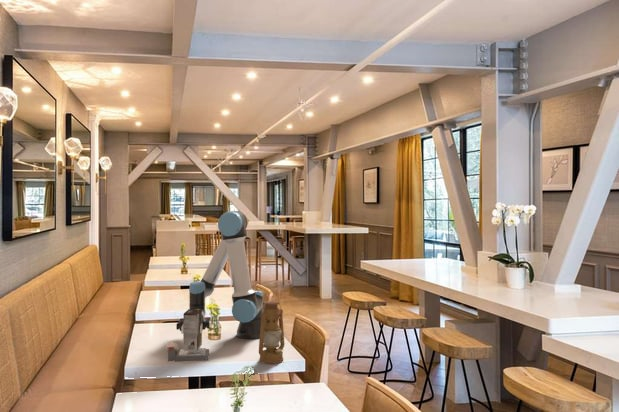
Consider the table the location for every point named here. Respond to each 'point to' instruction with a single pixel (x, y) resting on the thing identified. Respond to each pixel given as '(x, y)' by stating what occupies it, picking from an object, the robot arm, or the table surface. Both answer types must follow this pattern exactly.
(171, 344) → the scale
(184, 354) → the scale plate
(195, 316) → the coffee box
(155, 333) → the table surface
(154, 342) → the table surface
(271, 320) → the lantern
